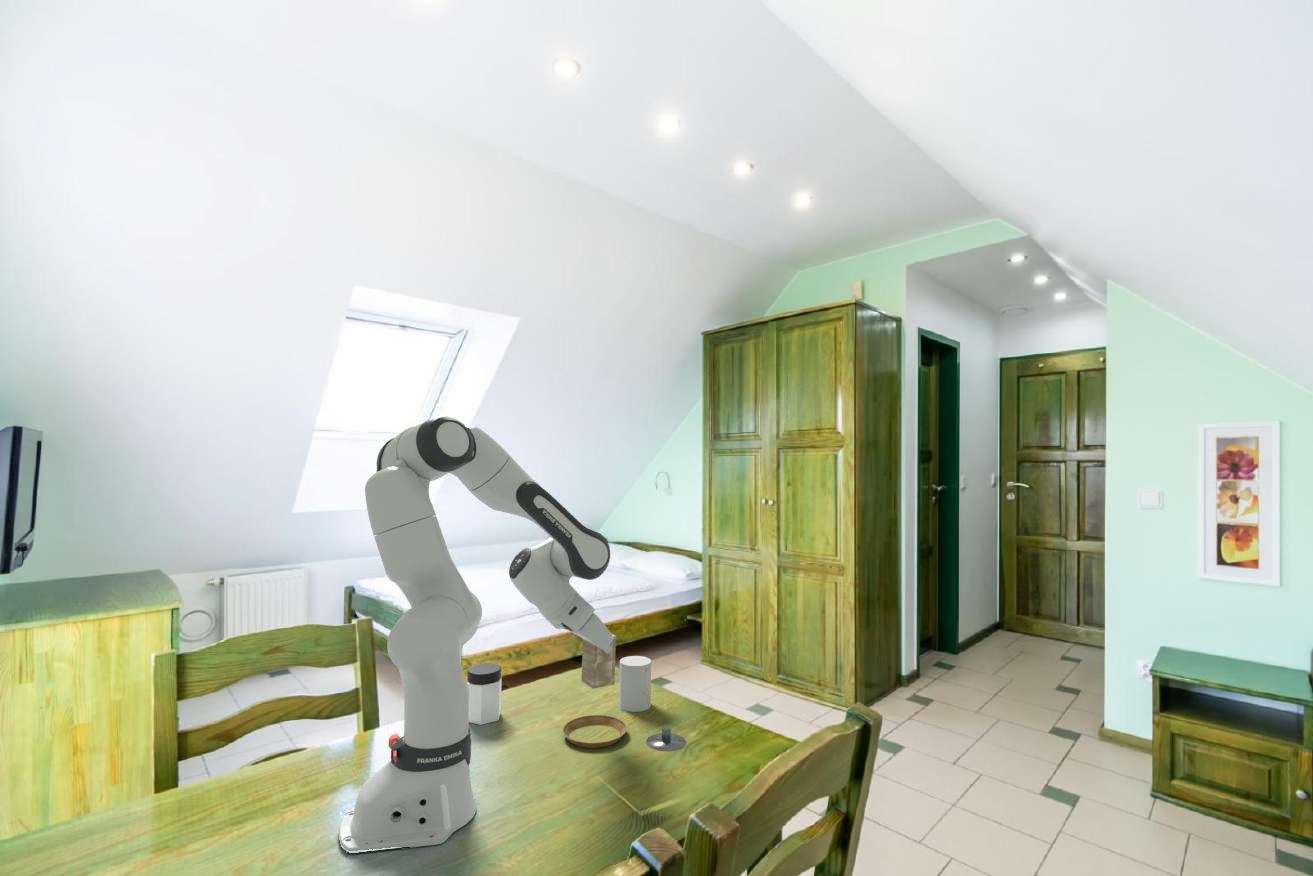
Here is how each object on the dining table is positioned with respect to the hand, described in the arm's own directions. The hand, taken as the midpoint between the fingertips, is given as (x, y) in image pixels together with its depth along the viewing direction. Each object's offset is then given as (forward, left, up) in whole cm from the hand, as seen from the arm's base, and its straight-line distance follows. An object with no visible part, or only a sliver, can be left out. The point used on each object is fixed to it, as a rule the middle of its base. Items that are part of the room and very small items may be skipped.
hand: (601, 646), depth 145 cm
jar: (-23, +21, -21) cm, 38 cm away
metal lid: (+13, -9, -21) cm, 26 cm away
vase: (-1, 0, -8) cm, 8 cm away
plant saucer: (-1, 0, -21) cm, 22 cm away
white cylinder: (+14, +13, -21) cm, 29 cm away
